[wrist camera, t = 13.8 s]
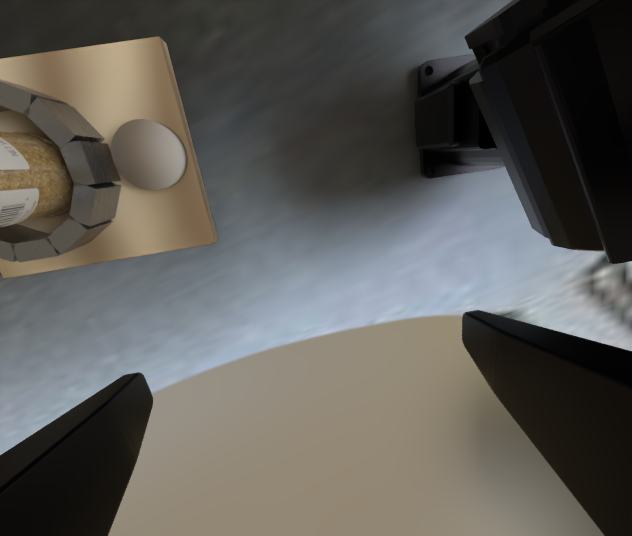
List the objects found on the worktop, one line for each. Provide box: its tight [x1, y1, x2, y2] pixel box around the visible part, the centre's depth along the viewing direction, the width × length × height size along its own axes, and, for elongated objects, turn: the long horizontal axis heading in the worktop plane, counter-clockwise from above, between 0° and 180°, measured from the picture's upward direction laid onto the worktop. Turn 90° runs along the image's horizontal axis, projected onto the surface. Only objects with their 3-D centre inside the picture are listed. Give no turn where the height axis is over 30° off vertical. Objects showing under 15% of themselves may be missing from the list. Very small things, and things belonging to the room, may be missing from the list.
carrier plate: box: [0, 36, 218, 279], centre depth 17 cm, size 13×11×2 cm
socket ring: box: [0, 79, 121, 262], centre depth 16 cm, size 8×8×2 cm
